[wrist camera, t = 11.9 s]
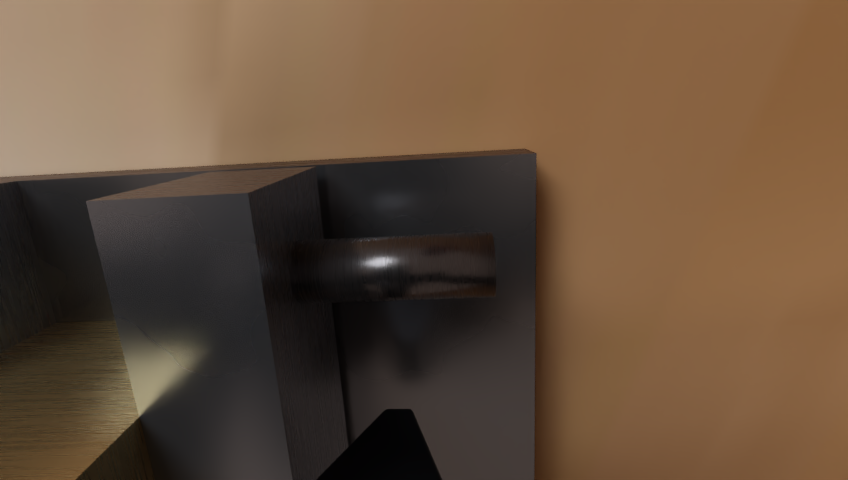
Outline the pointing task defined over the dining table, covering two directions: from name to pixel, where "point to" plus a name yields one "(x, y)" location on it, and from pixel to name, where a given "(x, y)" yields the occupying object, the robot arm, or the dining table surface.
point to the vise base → (354, 321)
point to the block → (70, 407)
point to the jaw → (253, 315)
